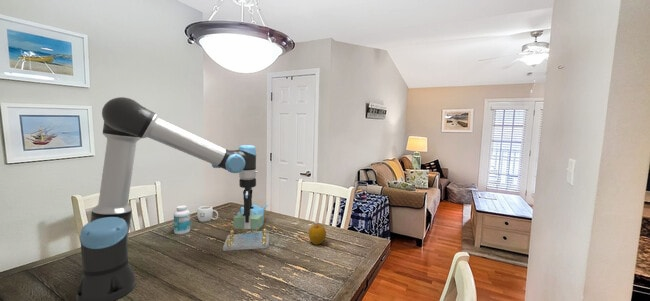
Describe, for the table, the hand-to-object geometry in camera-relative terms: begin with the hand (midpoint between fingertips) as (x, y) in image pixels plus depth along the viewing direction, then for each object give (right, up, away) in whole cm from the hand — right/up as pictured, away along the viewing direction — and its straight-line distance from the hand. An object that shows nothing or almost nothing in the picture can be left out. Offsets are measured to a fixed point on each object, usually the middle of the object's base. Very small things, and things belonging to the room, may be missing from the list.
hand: (248, 225), depth 127 cm
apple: (+33, -10, +2) cm, 34 cm away
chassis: (0, -8, +1) cm, 8 cm away
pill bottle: (-37, -7, +11) cm, 39 cm away
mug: (-31, -5, +28) cm, 42 cm away
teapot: (-4, -6, +23) cm, 25 cm away
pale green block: (0, -1, 0) cm, 1 cm away
